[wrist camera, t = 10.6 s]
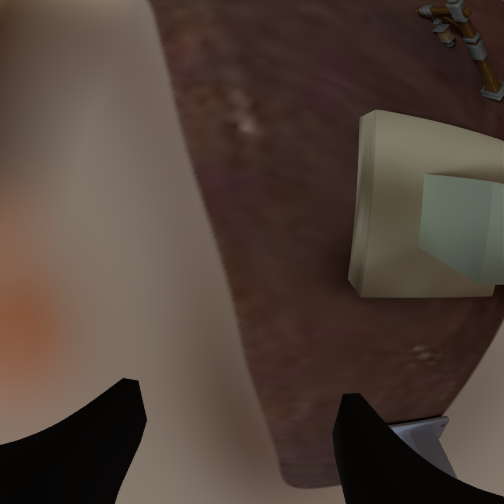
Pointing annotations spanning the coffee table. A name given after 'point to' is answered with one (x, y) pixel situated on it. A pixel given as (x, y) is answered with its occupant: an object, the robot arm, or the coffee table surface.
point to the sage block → (464, 226)
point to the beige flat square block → (410, 203)
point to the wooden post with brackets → (474, 44)
